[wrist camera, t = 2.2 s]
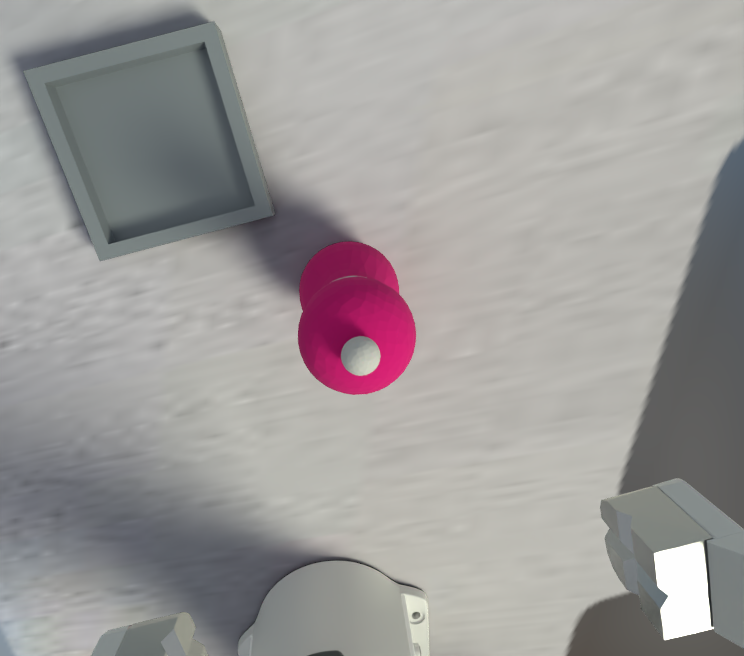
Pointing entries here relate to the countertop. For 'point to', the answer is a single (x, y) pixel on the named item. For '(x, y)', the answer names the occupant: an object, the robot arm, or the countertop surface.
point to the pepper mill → (354, 319)
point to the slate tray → (153, 140)
